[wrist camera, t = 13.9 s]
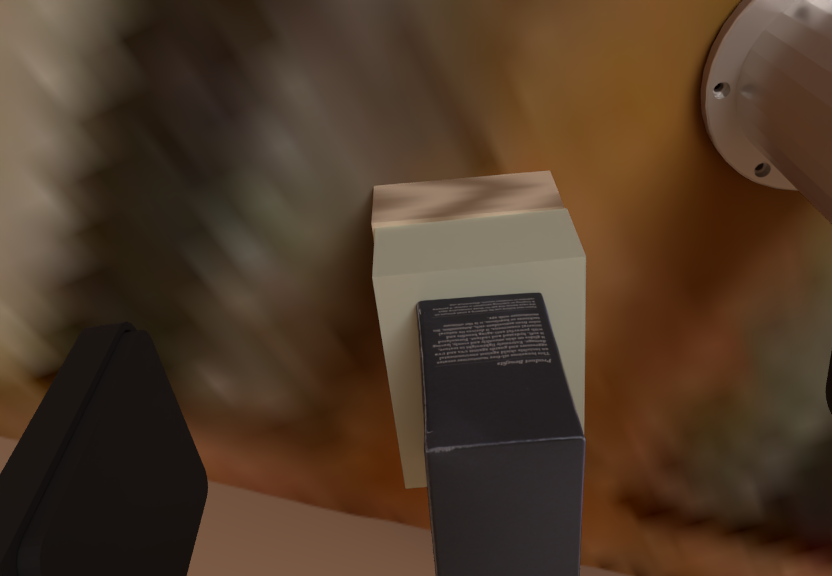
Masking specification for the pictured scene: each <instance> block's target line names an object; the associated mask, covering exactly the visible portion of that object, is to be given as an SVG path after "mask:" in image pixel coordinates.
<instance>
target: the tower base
mask: <svg viewBox="0 0 832 576" xmlns="http://www.w3.org/2000/svg"><path fill="white" fill-rule="evenodd" d="M557 209H564V205H563V203H562V200H561V198H560V195H559V192H558V190H557V187H556V185H555V182H554V180H553V177H552V175H551V172H550V171H539V172H528V173H516V174H505V175H494V176H482V177H471V178H460V179H448V180H437V181H426V182H414V183H403V184H392V185H380V186H374V193H373V208H372V222H371V223H372V231H373V238H374V239H375V228H378V227H388V226H398V225H408V224H418V223H428V222H438V221H448V220H458V219H467V218H477V217H487V216H497V215H507V214H517V213H527V212H537V211H547V210H557Z"/></svg>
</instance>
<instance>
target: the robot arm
mask: <svg viewBox="0 0 832 576" xmlns="http://www.w3.org/2000/svg"><path fill="white" fill-rule="evenodd" d="M718 83H721V84H720V87H719V88H718V89H714V88H715V86H716V85H717V84H718ZM700 93H701V113H702V117H703V121H704V124H705V128H706V132H707V134H708V136H709V138H710V140H711V141H712V143H713V145H714V147H715V149H716V150H717V151H718V152H719V153H720V155H721V156H722V157H723V158H724V160H725V161H726V162H727V163H728V164H729V165H730V166H731V167H733V168H734V169H735V170H736V171H737V172H738V173H739V174H741V175H742V176H744V177H746V178H748V179H749V180H751V181H753V182H755V183H757V184H761V185H764V186H768V187H771V188H775V189H782V190H794V191H799V192H800V193H801V194H802V195H803V196H804V197H805V198H806V199H807V200H808V201H809V202H810V203H811V204H812V205H813V206H814V207H815V208H816V209H817V210H818V211H819V212H820V213H821V214H822V215H823V216H824V217H825V218H826V219H827V220H828V221H829V222H830V223H831V224H832V0H743V1H742V2H741V3H740V4H739V5H738V6H737V8H736V9H735V10H734V12H733V13H732V14H731V15H730V17H729V18H728V19H727V21H726V22H725V23H724V25H723V27H722V28H721V30H720V32H719V34H718V36H717V38H716V39H715V41H714V43H713V45H712V47H711V50H710V53H709V56H708V59H707V62H706V65H705V67H704V71H703V78H702V85H701V91H700ZM759 164H760V165H759ZM758 165H759V166H758ZM756 166H758V167H756ZM826 400H827V404H828V407H829V410H830V412H831V414H832V352H831V358H830V364H829V371H828V377H827V383H826ZM207 493H208V482H207V475H206V471H205V468H204V466H203V463H202V461H201V458H200V456H199V454H198V451H197V449H196V446H195V444H194V441H193V439H192V436H191V434H190V432H189V429H188V427H187V424H186V422H185V419H184V417H183V415H182V412H181V410H180V407H179V405H178V402H177V400H176V397H175V395H174V393H173V390H172V388H171V385H170V383H169V380H168V378H167V375H166V373H165V371H164V368H163V366H162V363H161V361H160V358H159V356H158V354H157V351H156V349H155V346H154V344H153V341H152V339H151V337H150V335H149V334H148V333H147V332H146V331H144V330H139V331H137V330H136V328H135V327H134V326H133V325H132V324H131V323H129V322H121V323H114V324H107V325H100V326H93V327H88V328H85V329H84V330H83V331H82V332H81V333H80V335H79V337H78V338H77V340H76V342H75V344H74V345H73V347H72V349H71V351H70V353H69V354H68V356H67V358H66V360H65V361H64V363H63V365H62V367H61V368H60V370H59V372H58V374H57V375H56V377H55V379H54V381H53V382H52V384H51V386H50V388H49V389H48V391H47V393H46V395H45V396H44V398H43V400H42V402H41V404H40V405H39V407H38V409H37V411H36V412H35V414H34V416H33V418H32V419H31V421H30V423H29V425H28V426H27V428H26V430H25V432H24V433H23V435H22V437H21V439H20V440H19V442H18V444H17V446H16V448H15V449H14V451H13V453H12V455H11V456H10V458H9V460H8V462H7V463H6V465H5V467H4V469H3V470H2V472H1V474H0V576H187V572H188V568H189V564H190V560H191V556H192V552H193V549H194V545H195V541H196V537H197V533H198V529H199V525H200V522H201V517H202V514H203V510H204V506H205V502H206V498H207Z"/></svg>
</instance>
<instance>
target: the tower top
mask: <svg viewBox="0 0 832 576" xmlns="http://www.w3.org/2000/svg"><path fill="white" fill-rule="evenodd" d="M372 279H373V286H374V292H375V298H376V305H377V311H378V317H379V324H380V330H381V337H382V343H383V349H384V356H385V362H386V368H387V375H388V381H389V387H390V394H391V400H392V406H393V413H394V419H395V426H396V432H397V438H398V445H399V451H400V457H401V464H402V470H403V476H404V483H405V489H409V488H420V487H427V480H426V468H425V456H424V419H423V404H422V386H421V370H420V353H419V339H418V326H417V313H416V304H417V303H418V302H419V301H424V300H437V299H451V298H463V297H476V296H490V295H505V294H518V293H541V294H542V296H543V299H544V302H545V305H546V308H547V312H548V315H549V319H550V323H551V326H552V330H553V333H554V337H555V340H556V343H557V346H558V349H559V353H560V357H561V360H562V364H563V367H564V370H565V373H566V377H567V380H568V383H569V387H570V390H571V393H572V397H573V400H574V404H575V407H576V410H577V413H578V417H579V420H580V423H581V426H582V430H583V434H584V405H585V310H586V255H585V253H584V250H583V247H582V245H581V242H580V240H579V237H578V235H577V232H576V230H575V227H574V225H573V222H572V220H571V217H570V215H569V212H568V210H567V208H566V209H557V210H547V211H537V212H527V213H517V214H507V215H497V216H487V217H477V218H467V219H458V220H448V221H438V222H428V223H418V224H408V225H398V226H388V227H378V228H375V239H374V256H373V273H372Z"/></svg>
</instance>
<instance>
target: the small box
mask: <svg viewBox="0 0 832 576" xmlns="http://www.w3.org/2000/svg"><path fill="white" fill-rule="evenodd" d="M416 313H417V326H418V339H419V353H420V370H421V386H422V404H423V419H424V456H425V468H426V480H427V490H428V499H429V512H430V521H431V533H432V542H433V553H434V561H435V573H436V576H579V575H580V552H581V528H582V506H583V485H584V466H585V447H586V439H585V436H584V434H583V430H582V426H581V423H580V420H579V417H578V413H577V410H576V407H575V404H574V400H573V397H572V393H571V390H570V387H569V383H568V380H567V377H566V373H565V370H564V367H563V364H562V360H561V357H560V353H559V349H558V346H557V343H556V340H555V337H554V333H553V330H552V326H551V323H550V319H549V315H548V312H547V308H546V305H545V302H544V299H543V296H542V294H541V293H518V294H505V295H490V296H476V297H463V298H451V299H437V300H424V301H419V302H418V303H417V304H416Z"/></svg>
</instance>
